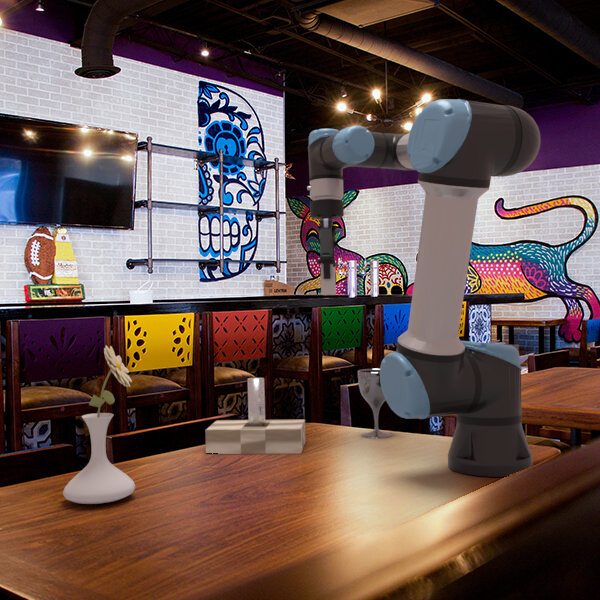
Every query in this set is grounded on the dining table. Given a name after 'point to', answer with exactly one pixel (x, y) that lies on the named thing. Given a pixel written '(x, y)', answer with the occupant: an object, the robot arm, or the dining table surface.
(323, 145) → the robot arm
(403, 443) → the dining table surface
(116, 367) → the flower in vase
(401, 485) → the dining table surface
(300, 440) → the hole block
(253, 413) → the peg
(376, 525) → the dining table surface
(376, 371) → the wine glass
